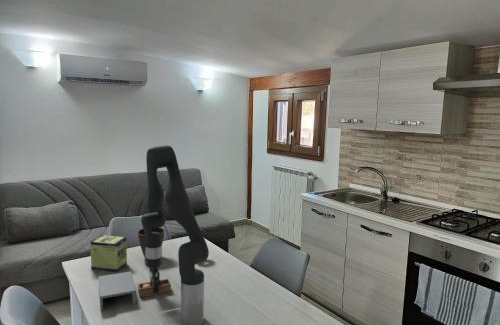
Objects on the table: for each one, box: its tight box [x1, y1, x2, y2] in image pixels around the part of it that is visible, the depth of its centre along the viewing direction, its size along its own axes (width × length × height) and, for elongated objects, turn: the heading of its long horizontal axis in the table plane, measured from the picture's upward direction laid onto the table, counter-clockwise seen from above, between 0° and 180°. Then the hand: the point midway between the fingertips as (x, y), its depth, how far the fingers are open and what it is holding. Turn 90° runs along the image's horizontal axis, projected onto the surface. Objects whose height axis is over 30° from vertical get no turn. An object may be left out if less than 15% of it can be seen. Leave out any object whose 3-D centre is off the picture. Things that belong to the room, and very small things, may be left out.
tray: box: [137, 278, 172, 298], centre depth 164 cm, size 6×14×4 cm, turn 115°
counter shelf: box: [98, 271, 137, 312], centre depth 160 cm, size 20×14×6 cm
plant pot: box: [137, 227, 166, 258], centre depth 203 cm, size 15×15×16 cm
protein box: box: [90, 234, 128, 273], centre depth 190 cm, size 10×16×16 cm
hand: (154, 288), depth 164 cm, fingers open, 8 cm apart
